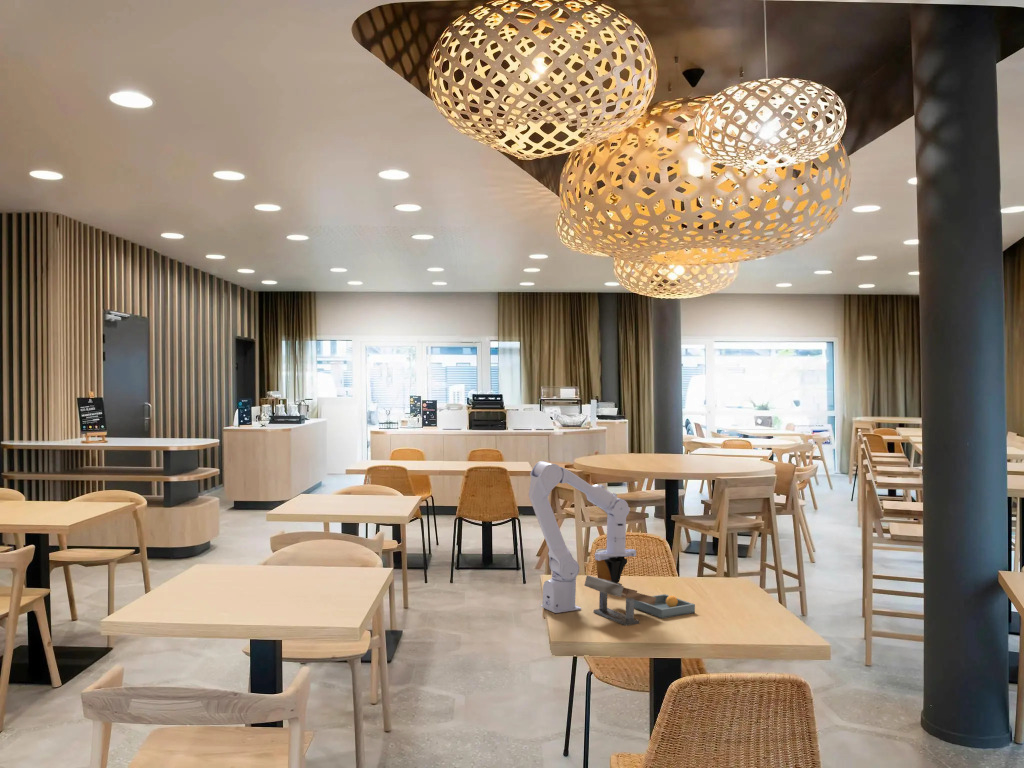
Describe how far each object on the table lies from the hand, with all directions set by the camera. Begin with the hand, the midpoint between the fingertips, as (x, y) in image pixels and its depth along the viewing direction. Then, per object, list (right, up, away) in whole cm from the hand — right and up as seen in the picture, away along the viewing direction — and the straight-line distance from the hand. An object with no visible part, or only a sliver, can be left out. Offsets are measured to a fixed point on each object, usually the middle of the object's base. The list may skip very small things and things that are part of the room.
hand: (615, 581), depth 239 cm
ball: (+17, -5, -3) cm, 18 cm away
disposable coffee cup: (0, -7, +21) cm, 23 cm away
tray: (+14, -7, -4) cm, 16 cm away
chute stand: (-2, -7, -14) cm, 16 cm away
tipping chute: (-3, -1, -10) cm, 10 cm away
